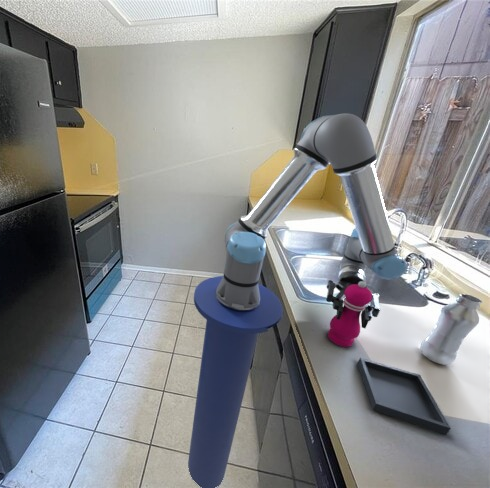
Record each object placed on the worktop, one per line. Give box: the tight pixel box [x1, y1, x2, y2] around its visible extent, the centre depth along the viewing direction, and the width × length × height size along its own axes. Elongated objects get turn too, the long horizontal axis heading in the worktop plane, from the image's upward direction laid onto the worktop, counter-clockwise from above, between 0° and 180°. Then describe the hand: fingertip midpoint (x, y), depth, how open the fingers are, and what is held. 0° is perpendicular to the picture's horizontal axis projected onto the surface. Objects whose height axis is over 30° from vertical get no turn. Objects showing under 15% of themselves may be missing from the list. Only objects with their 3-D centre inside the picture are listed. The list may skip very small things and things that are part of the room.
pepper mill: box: [327, 281, 373, 348], centre depth 72 cm, size 7×7×20 cm
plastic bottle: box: [420, 293, 483, 366], centre depth 67 cm, size 6×7×20 cm
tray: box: [356, 357, 452, 435], centre depth 60 cm, size 14×13×2 cm
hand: (352, 319), depth 68 cm, fingers closed on pepper mill, 5 cm apart
